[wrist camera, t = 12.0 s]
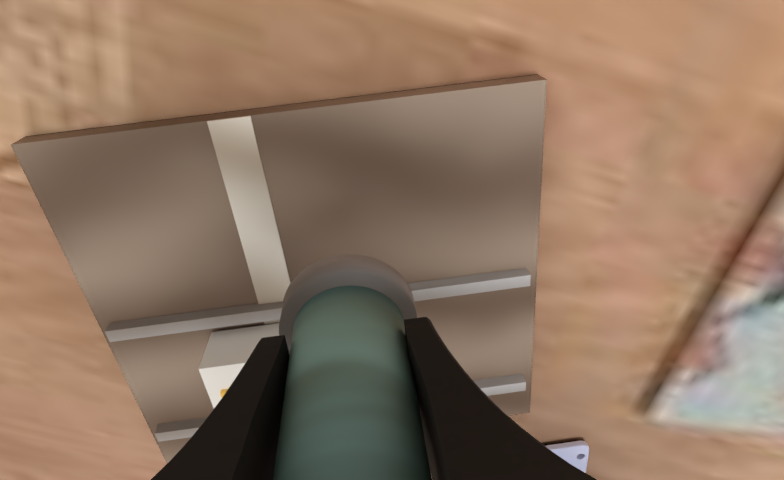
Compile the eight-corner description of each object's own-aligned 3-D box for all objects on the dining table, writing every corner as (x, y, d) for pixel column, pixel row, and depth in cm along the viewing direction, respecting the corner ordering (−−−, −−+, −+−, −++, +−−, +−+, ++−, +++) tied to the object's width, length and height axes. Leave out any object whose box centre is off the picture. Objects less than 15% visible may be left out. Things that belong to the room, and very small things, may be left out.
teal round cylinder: (418, 352, 16) (464, 583, 10) (295, 368, 16) (267, 613, 10) (409, 246, 14) (459, 454, 8) (269, 263, 14) (215, 488, 8)
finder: (356, 392, 26) (357, 434, 23) (238, 408, 25) (228, 452, 23) (341, 314, 23) (341, 352, 21) (211, 332, 23) (197, 372, 21)
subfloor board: (523, 398, 29) (533, 421, 27) (172, 447, 28) (163, 473, 27) (537, 74, 20) (552, 82, 18) (25, 136, 19) (1, 149, 18)
